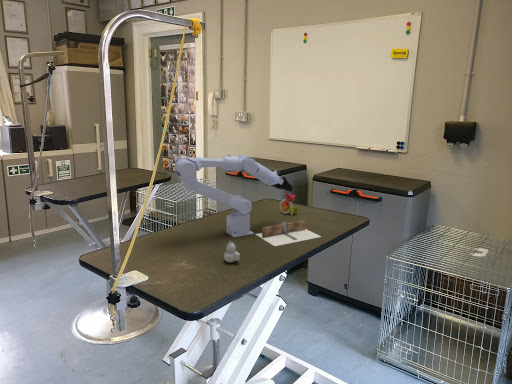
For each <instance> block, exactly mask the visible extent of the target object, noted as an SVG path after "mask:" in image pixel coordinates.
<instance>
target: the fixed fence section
mask: <svg viewBox="0 0 512 384" xmlns="http://www.w3.org/2000/svg"><path fill="white" fill-rule="evenodd" d="M287 223H288V221H282V222H281V223H280V224H275V225H270V226H262V227H261V233H262V238H266V236H271V235H276V234H286V233H287ZM262 238H261V239H262Z"/></svg>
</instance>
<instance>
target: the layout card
mask: <svg viewBox="0 0 512 384" xmlns="http://www.w3.org/2000/svg"><path fill="white" fill-rule="evenodd" d="M255 235H256V236H257V237H259V238H260V239H262V240H264V241H265V242H266V243H268V244H270V245H272V246H274V247H278V246H284V245H287V244H288V245H289V244H292V243H294V244H295V243H298V242H302V241H308V240H312V239H317V238H321V237H322V236H321V235H319V234H317V233H315V232H313V231H310V230H308V229H307V228H305V230H298V231H292V232H287V233H286V234H276V235H271V236H266V238H262V232H261V233H255Z"/></svg>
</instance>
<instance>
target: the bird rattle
mask: <svg viewBox="0 0 512 384" xmlns="http://www.w3.org/2000/svg"><path fill="white" fill-rule="evenodd" d="M284 196H285V198H284V199H282V200H281V201H280V203H279V210H280V211H281V213H282V215H285V214H290V216H291V217H292V216H293V214H294V213H298V212H299V211H298V210H299V208H298V207H297V206H296V207H295V206H294V203H293V202H295V200H296V199H295V197H296V194H290V192H289V193H284Z"/></svg>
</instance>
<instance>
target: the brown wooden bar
mask: <svg viewBox="0 0 512 384" xmlns="http://www.w3.org/2000/svg"><path fill="white" fill-rule="evenodd" d="M305 229H306V220H305V219H301V220H298V221H293V222H287V232H292V231H298V230H305Z"/></svg>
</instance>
